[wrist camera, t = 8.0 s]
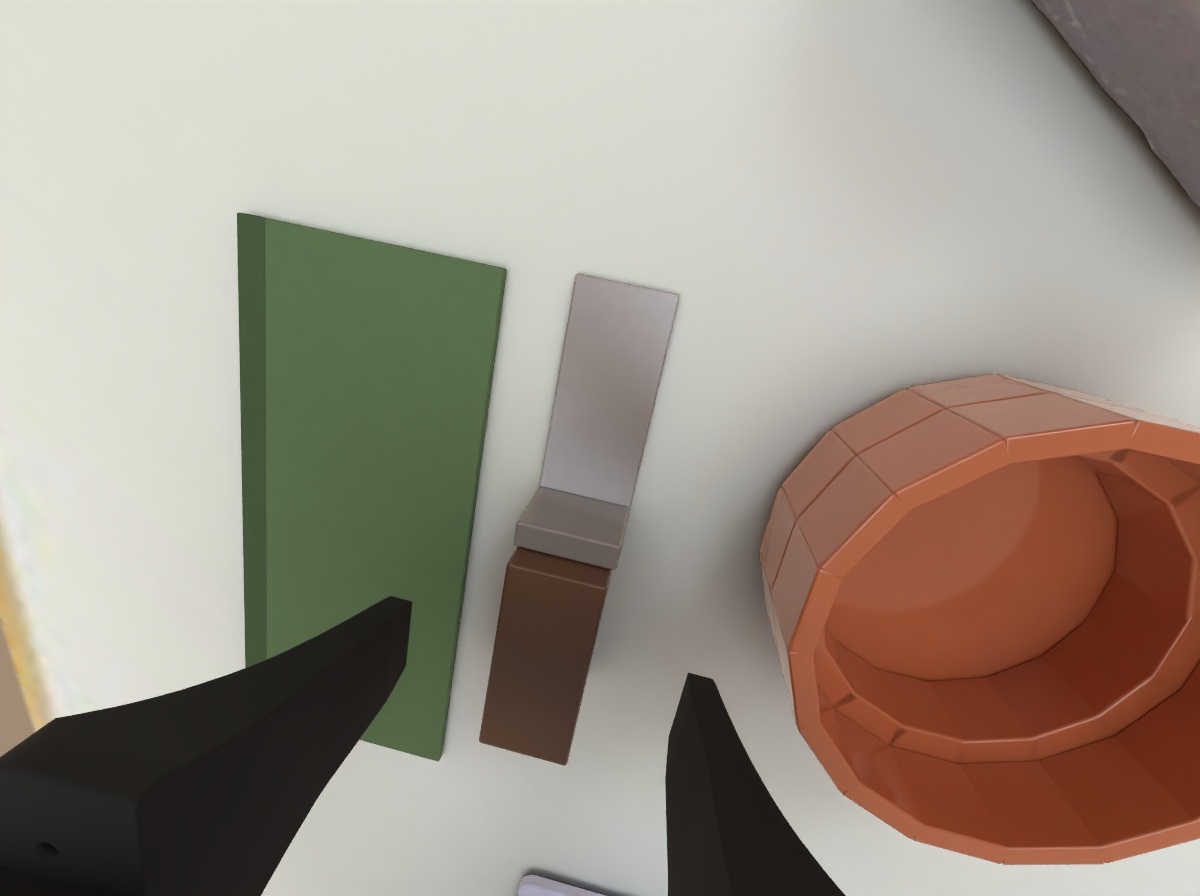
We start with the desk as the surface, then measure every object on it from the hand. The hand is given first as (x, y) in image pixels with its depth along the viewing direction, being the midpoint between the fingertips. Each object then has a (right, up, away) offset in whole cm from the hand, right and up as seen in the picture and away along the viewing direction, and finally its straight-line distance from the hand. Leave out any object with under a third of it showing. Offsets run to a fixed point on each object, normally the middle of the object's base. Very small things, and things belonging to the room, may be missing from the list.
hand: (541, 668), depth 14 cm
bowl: (+11, +3, +1) cm, 11 cm away
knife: (+1, +4, +2) cm, 5 cm away
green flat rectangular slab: (-6, +3, +3) cm, 8 cm away
